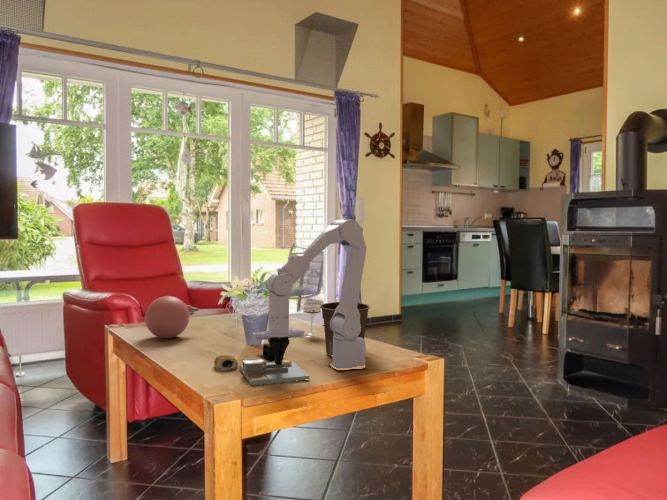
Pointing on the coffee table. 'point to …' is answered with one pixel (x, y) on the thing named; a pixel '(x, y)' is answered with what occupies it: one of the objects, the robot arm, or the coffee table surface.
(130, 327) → the coffee table surface
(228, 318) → the coffee table surface
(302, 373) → the door board
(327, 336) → the plant pot
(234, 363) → the pastry
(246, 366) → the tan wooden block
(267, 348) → the black block
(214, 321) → the coffee table surface
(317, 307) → the wineglass
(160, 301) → the balloon
